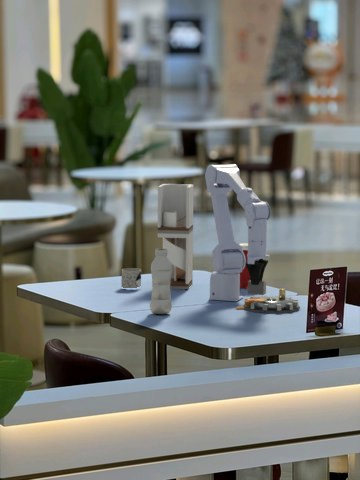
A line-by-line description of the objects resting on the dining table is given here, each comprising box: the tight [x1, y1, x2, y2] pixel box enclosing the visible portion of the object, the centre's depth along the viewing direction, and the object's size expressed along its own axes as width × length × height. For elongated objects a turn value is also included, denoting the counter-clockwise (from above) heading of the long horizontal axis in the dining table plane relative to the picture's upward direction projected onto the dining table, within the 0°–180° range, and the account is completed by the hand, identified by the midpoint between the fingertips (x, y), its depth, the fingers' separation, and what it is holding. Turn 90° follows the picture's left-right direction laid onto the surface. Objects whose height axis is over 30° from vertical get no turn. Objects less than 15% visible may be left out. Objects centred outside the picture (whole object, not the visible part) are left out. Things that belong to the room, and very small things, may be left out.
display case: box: [157, 183, 195, 290], centre depth 422 cm, size 11×11×35 cm
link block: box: [247, 279, 267, 296], centre depth 385 cm, size 5×3×4 cm, turn 71°
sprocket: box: [244, 288, 299, 311], centre depth 387 cm, size 17×17×5 cm
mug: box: [121, 267, 142, 288], centre depth 421 cm, size 10×7×7 cm
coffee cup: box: [238, 242, 250, 290], centre depth 423 cm, size 8×8×15 cm
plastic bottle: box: [149, 247, 173, 315], centre depth 374 cm, size 6×7×20 cm
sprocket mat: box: [235, 303, 301, 315], centre depth 387 cm, size 19×18×1 cm
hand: (256, 283), depth 385 cm, fingers closed on link block, 3 cm apart
